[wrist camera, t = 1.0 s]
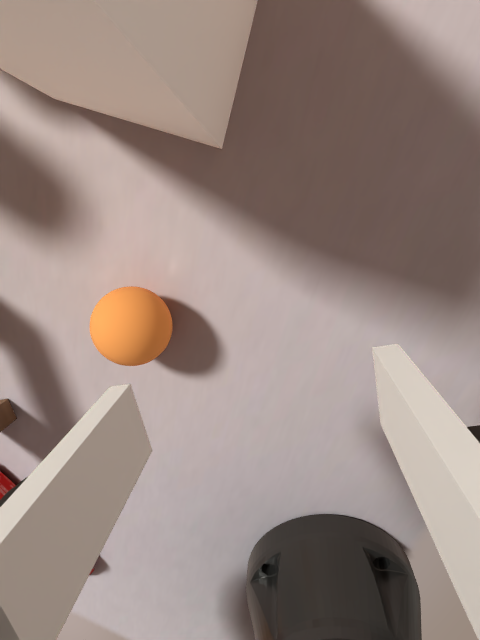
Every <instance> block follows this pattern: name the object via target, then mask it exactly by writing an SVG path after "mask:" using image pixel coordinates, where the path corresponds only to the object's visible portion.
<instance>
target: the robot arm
mask: <svg viewBox="0 0 480 640" xmlns="http://www.w3.org/2000/svg"><path fill="white" fill-rule="evenodd" d="M372 352H373V361H374V370H375V379H376V387H377V396H378V405H379V414H380V423H381V426H382V428H383V430H384V433H385V435H386V437H387V439H388V441H389V444H390V446H391V448H392V450H393V453H394V455H395V457H396V459H397V461H398V464H399V466H400V468H401V470H402V472H403V475H404V477H405V479H406V481H407V484H408V486H409V488H410V490H411V492H412V495H413V497H414V499H415V501H416V503H417V506H418V508H419V510H420V512H421V514H422V517H423V519H424V521H425V523H426V526H427V528H428V530H429V532H430V534H431V536H432V539H433V541H434V543H435V545H436V548H437V550H438V552H439V554H440V557H441V559H442V561H443V563H444V565H445V568H446V570H447V572H448V574H449V576H450V579H451V581H452V583H453V585H454V588H455V590H456V592H457V594H458V596H459V599H460V601H461V603H462V605H463V607H464V610H465V612H466V614H467V616H468V619H469V621H470V623H471V625H472V627H473V629H474V631H475V634H476V636H477V638H478V640H480V426H470V427H466V426H465V425H464V423H463V422H462V421H461V420H460V419H459V417H458V416H457V415H456V414H455V413H454V411H453V410H452V409H451V408H450V406H449V405H448V404H447V403H446V402H445V400H444V399H443V398H442V397H441V396H440V394H439V393H438V392H437V391H436V389H435V388H434V387H433V386H432V385H431V383H430V382H429V381H428V380H427V379H426V377H425V376H424V375H423V374H422V372H421V371H420V370H419V369H418V368H417V366H416V365H415V364H414V363H413V362H412V360H411V359H410V358H409V357H408V355H407V354H406V353H405V352H404V351H403V349H402V348H401V347H400V346H399V345H398V344H393V345H387V346H380V347H373V348H372ZM151 452H152V448H151V445H150V442H149V439H148V436H147V433H146V430H145V427H144V424H143V421H142V418H141V415H140V412H139V409H138V406H137V403H136V400H135V397H134V394H133V391H132V388H131V385H130V384H125V385H119V386H112V387H109V388H108V389H107V391H106V392H105V393H104V394H103V395H102V396H101V397H100V398H99V399H98V400H97V402H96V403H95V404H94V405H93V406H92V407H91V408H90V409H89V410H88V411H87V413H86V414H85V415H84V416H83V417H82V418H81V419H80V420H79V421H78V422H77V424H76V425H75V426H74V427H73V428H72V429H71V430H70V431H69V432H68V433H67V435H66V436H65V437H64V438H63V439H62V440H61V441H60V442H59V443H58V444H57V446H56V447H55V448H54V449H53V450H52V451H51V452H50V453H49V454H48V455H47V457H46V458H45V459H44V460H43V461H42V462H41V463H40V464H39V465H38V466H37V468H36V469H35V470H34V471H33V472H32V473H31V474H30V475H29V476H28V477H27V478H25V479H24V480H23V481H21V482H20V483H19V484H17V485H16V486H15V487H13V488H12V489H11V490H9V491H8V492H7V493H6V494H5V495H4V496H3V497H2V498H1V499H0V640H56V639H57V637H58V635H59V633H60V631H61V629H62V628H63V625H64V624H65V622H66V620H67V618H68V616H69V614H70V612H71V610H72V608H73V606H74V604H75V602H76V600H77V598H78V596H79V594H80V592H81V590H82V588H83V586H84V584H85V582H86V580H87V578H88V576H89V574H90V572H91V570H92V568H93V566H94V564H95V563H96V561H97V559H98V557H99V555H100V553H101V551H102V549H103V547H104V545H105V543H106V541H107V539H108V537H109V535H110V533H111V531H112V529H113V527H114V525H115V523H116V521H117V519H118V517H119V515H120V513H121V511H122V509H123V507H124V505H125V503H126V501H127V499H128V498H129V496H130V494H131V492H132V490H133V488H134V486H135V484H136V482H137V480H138V478H139V476H140V474H141V472H142V470H143V468H144V466H145V464H146V462H147V460H148V458H149V456H150V454H151ZM246 597H247V603H248V608H249V613H250V617H251V622H252V626H253V631H254V635H255V640H422V639H421V608H420V594H419V589H418V585H417V582H416V579H415V576H414V573H413V571H412V568H411V565H410V562H409V560H408V558H407V555H406V554H405V552H404V551H403V549H402V548H401V546H400V545H399V544H398V543H397V542H396V541H395V540H394V539H393V538H392V537H391V536H389V535H388V534H387V533H385V532H384V531H382V530H381V529H379V528H377V527H375V526H373V525H371V524H369V523H367V522H364V521H361V520H358V519H355V518H351V517H346V516H340V515H310V516H304V517H299V518H296V519H292V520H289V521H287V522H284V523H282V524H280V525H278V526H276V527H275V528H273V529H272V530H270V531H269V532H267V533H266V534H265V535H264V536H263V537H262V538H261V539H260V540H259V541H258V543H257V544H256V545H255V547H254V549H253V550H252V552H251V555H250V558H249V562H248V570H247V582H246Z"/></svg>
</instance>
